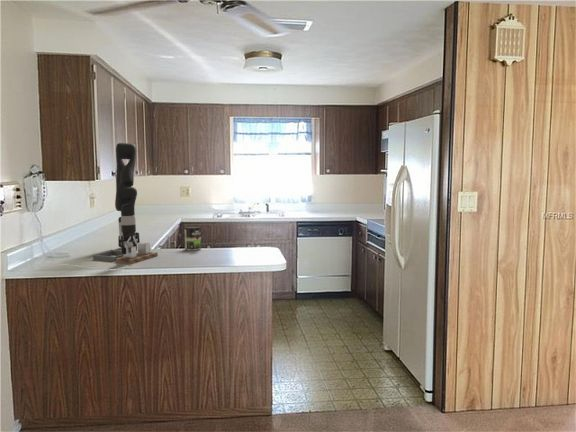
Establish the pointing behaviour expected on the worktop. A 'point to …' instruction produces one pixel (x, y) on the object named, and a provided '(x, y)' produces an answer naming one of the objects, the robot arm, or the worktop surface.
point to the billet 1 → (130, 252)
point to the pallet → (139, 257)
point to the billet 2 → (144, 248)
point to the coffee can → (192, 237)
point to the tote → (108, 255)
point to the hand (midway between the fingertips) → (129, 252)
